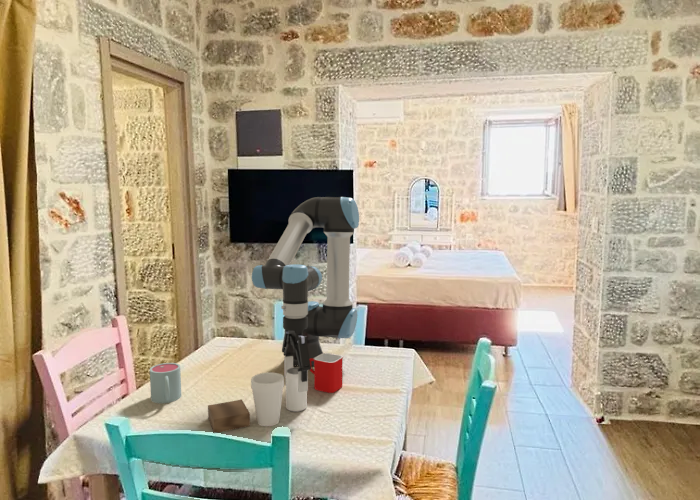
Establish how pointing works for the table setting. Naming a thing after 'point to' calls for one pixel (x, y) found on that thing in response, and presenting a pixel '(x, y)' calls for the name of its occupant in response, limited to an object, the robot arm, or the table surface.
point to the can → (294, 392)
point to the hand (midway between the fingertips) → (295, 383)
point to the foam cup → (267, 397)
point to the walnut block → (228, 416)
